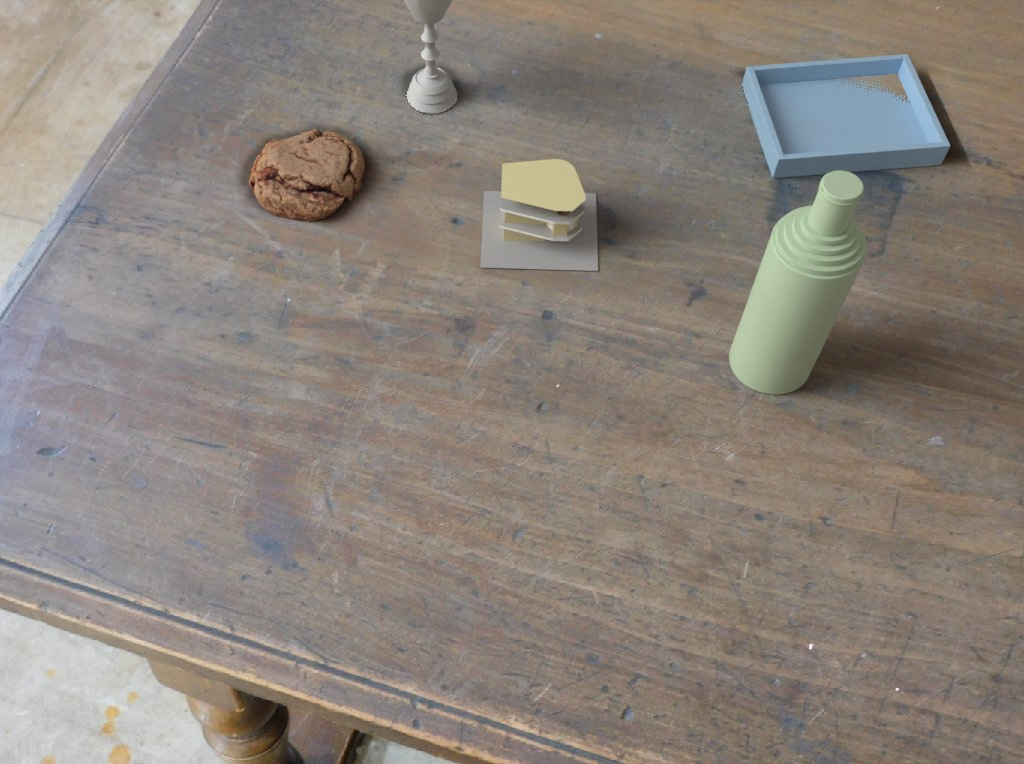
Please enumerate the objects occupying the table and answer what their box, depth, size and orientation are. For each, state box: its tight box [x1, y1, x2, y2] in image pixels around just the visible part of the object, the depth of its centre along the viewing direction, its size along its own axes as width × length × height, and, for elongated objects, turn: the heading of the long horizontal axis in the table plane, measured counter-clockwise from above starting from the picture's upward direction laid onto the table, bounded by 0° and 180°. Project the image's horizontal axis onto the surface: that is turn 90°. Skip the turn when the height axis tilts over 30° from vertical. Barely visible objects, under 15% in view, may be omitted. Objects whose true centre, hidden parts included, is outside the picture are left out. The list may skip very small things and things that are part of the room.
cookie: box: [248, 128, 366, 222], centre depth 96 cm, size 10×11×3 cm
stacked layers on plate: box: [479, 158, 599, 272], centre depth 91 cm, size 10×9×6 cm
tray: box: [741, 53, 951, 179], centre depth 98 cm, size 15×12×2 cm
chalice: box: [403, 0, 458, 113], centre depth 95 cm, size 7×7×18 cm
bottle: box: [728, 170, 868, 396], centre depth 78 cm, size 6×6×20 cm
